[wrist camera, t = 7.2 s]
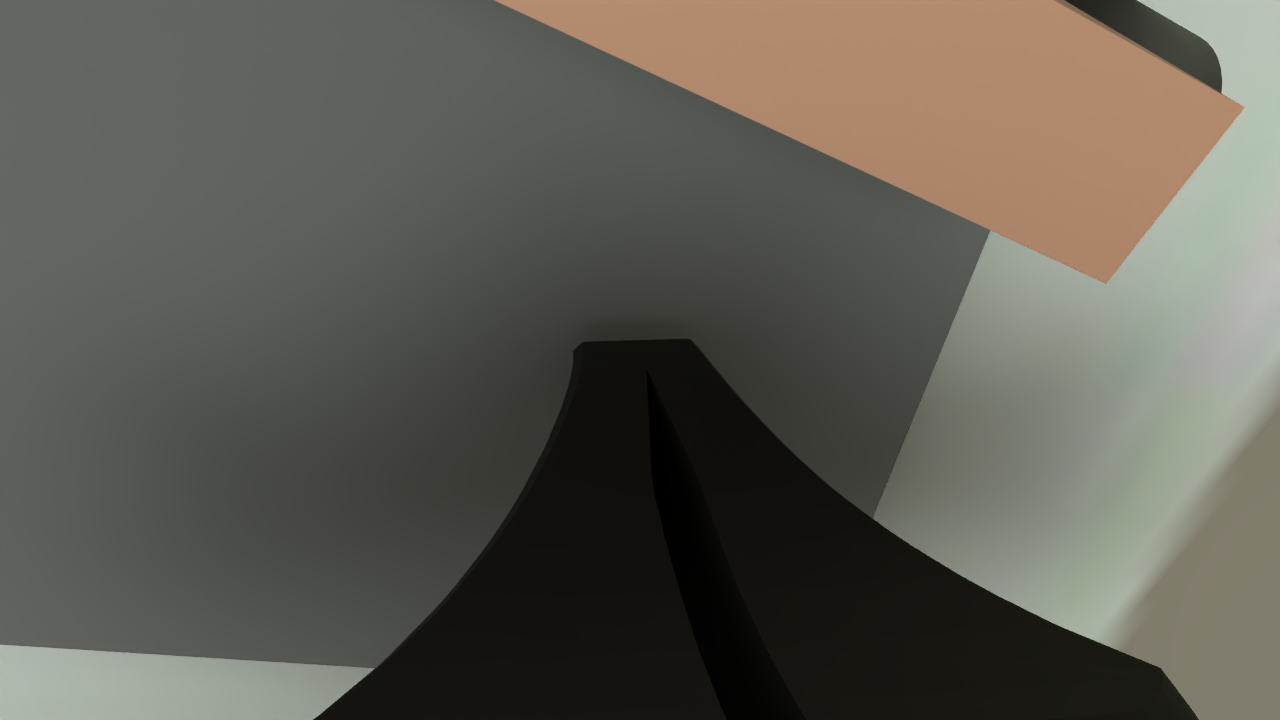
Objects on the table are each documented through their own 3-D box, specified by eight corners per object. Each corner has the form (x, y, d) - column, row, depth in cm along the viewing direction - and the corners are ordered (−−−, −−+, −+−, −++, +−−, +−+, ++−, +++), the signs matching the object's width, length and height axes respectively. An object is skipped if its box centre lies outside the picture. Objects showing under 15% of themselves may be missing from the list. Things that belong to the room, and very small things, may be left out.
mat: (795, 679, 17) (799, 695, 17) (-625, 586, 14) (-646, 603, 13) (1321, -627, 9) (1346, -637, 9) (-1916, -1729, 5) (-2033, -1797, 5)
